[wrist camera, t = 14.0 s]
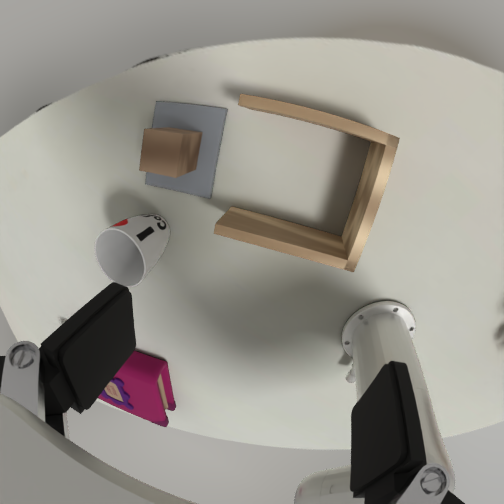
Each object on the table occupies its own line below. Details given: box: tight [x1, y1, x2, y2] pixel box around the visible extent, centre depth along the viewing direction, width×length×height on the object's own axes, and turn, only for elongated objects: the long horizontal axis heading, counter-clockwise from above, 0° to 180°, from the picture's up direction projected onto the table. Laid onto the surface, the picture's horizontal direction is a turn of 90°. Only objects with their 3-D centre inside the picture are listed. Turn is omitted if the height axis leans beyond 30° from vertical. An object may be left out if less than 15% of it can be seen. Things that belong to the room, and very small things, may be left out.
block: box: [139, 127, 203, 178], centre depth 31 cm, size 5×5×6 cm
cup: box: [95, 214, 170, 287], centre depth 36 cm, size 8×8×10 cm
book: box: [98, 351, 176, 427], centre depth 57 cm, size 21×28×8 cm
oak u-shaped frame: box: [214, 94, 400, 272], centre depth 30 cm, size 15×16×7 cm
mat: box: [145, 101, 228, 199], centre depth 34 cm, size 12×10×1 cm
